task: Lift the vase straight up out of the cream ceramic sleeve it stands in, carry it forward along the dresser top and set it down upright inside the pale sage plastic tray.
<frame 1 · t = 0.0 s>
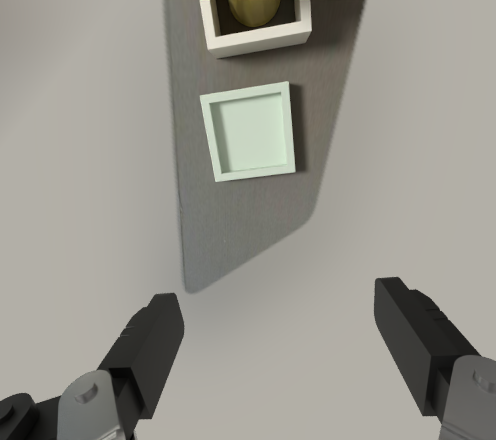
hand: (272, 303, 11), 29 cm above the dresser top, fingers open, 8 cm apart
tray: (250, 134, 37), on the dresser top
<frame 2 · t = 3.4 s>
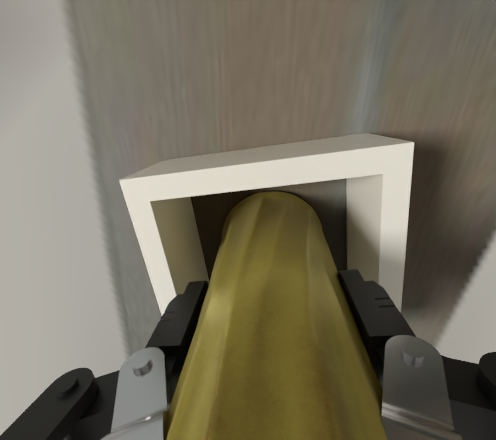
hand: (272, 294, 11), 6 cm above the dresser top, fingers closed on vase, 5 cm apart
vase: (271, 236, 17), resting in sleeve, touching gripper
sleeve: (271, 238, 17), on the dresser top
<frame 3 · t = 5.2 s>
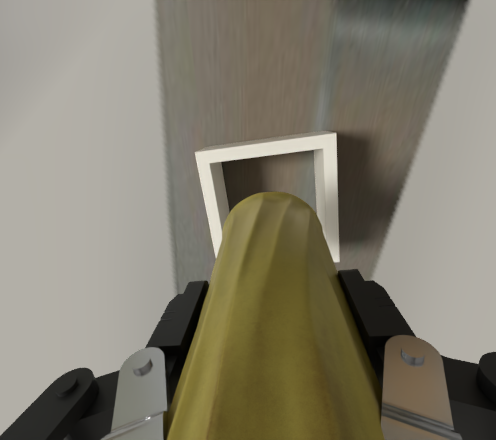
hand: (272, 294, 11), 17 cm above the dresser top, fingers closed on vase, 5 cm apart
vase: (271, 236, 17), point 11 cm above the dresser top, touching gripper
sleeve: (270, 194, 27), on the dresser top
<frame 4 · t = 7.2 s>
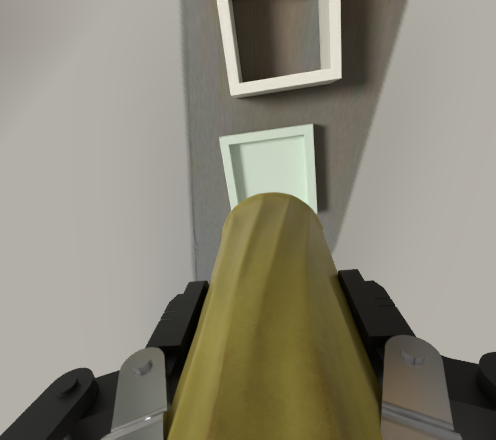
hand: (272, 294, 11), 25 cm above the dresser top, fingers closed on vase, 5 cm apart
tray: (269, 173, 35), on the dresser top
vase: (271, 237, 17), point 20 cm above the dresser top, touching gripper
sleeve: (277, 36, 29), on the dresser top
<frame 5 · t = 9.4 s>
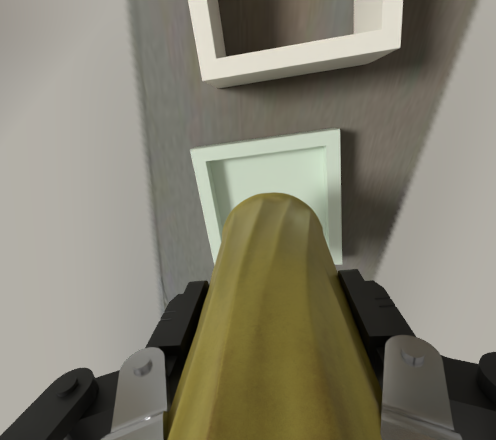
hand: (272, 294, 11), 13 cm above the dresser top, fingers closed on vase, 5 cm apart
tray: (270, 202, 23), on the dresser top
vase: (271, 237, 17), point 7 cm above the dresser top, touching gripper
when the fingers open (8 cm above the dresser top, at t = 11.0 s): vase drops 1 cm, resting on tray.
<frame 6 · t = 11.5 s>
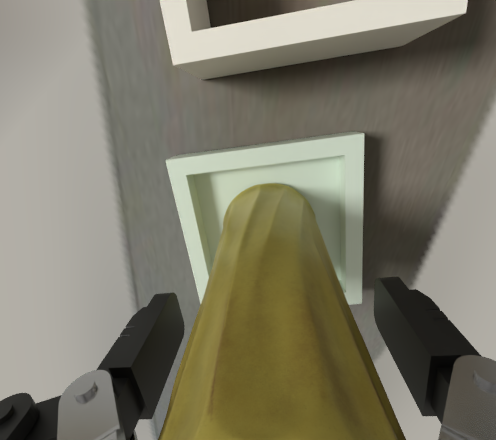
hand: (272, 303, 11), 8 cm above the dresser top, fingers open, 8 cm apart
tray: (271, 225, 19), on the dresser top
vase: (269, 226, 18), resting on tray
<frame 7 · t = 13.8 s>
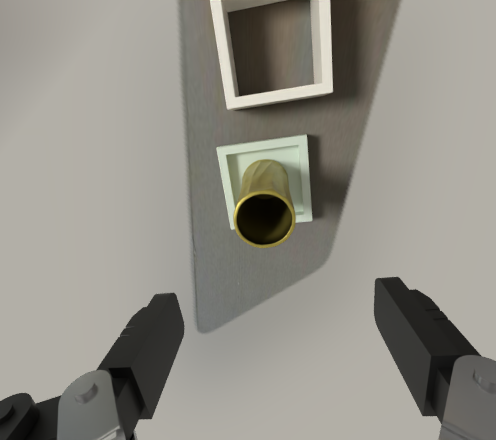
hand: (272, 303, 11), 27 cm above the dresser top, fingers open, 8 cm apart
tray: (266, 182, 36), on the dresser top
vase: (265, 181, 36), resting on tray
sleeve: (272, 51, 31), on the dresser top
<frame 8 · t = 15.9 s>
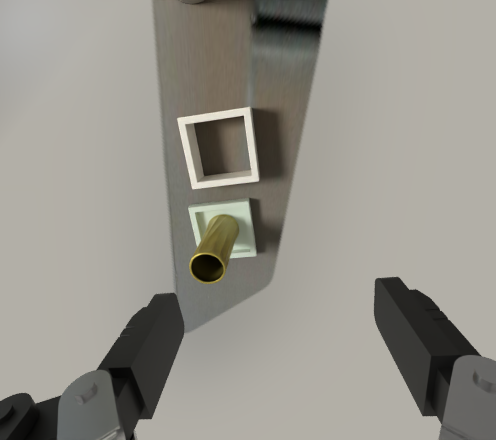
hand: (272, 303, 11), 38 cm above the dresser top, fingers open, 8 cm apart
tray: (224, 228, 52), on the dresser top
vase: (223, 228, 51), resting on tray
sleeve: (224, 147, 46), on the dresser top
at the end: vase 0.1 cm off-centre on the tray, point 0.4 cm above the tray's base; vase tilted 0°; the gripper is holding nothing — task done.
